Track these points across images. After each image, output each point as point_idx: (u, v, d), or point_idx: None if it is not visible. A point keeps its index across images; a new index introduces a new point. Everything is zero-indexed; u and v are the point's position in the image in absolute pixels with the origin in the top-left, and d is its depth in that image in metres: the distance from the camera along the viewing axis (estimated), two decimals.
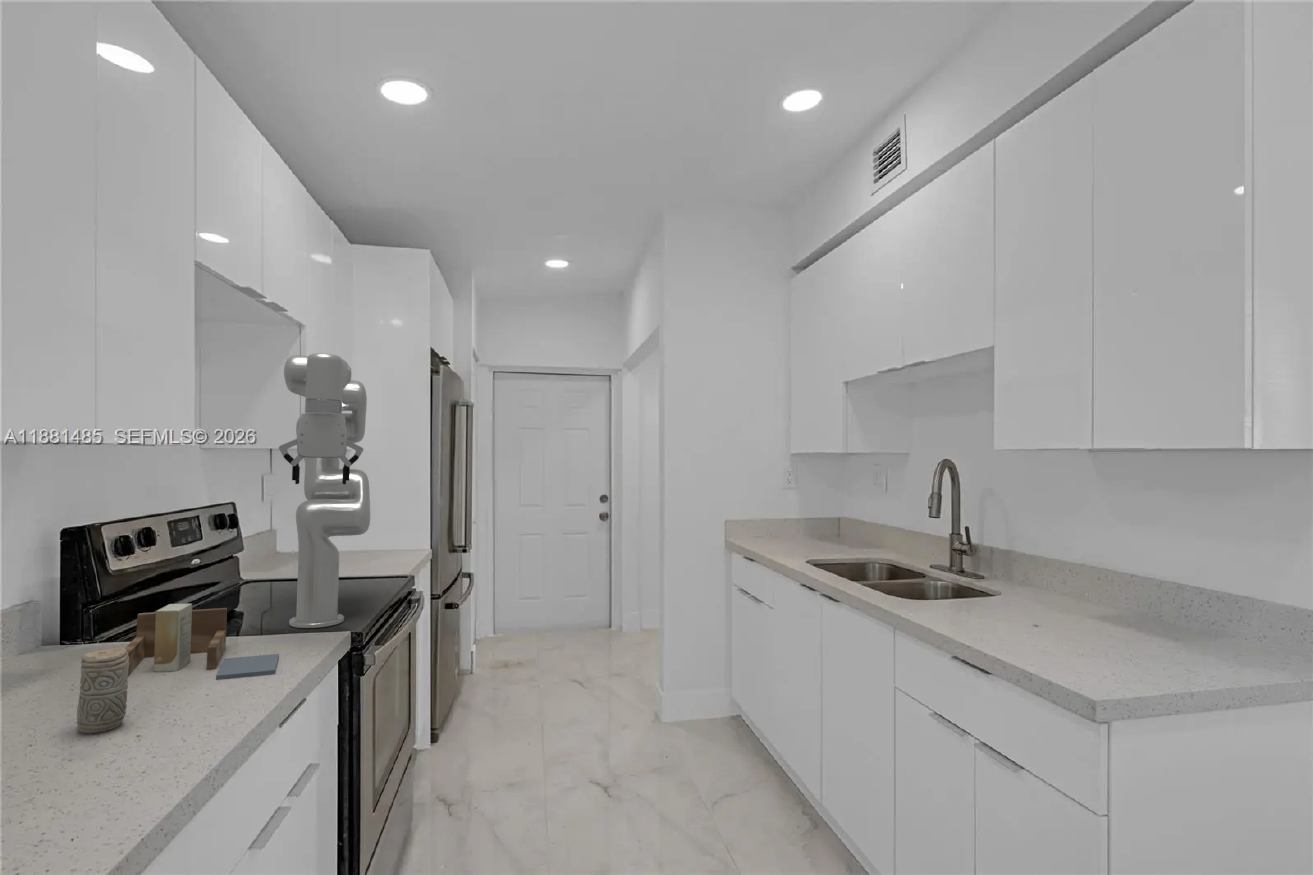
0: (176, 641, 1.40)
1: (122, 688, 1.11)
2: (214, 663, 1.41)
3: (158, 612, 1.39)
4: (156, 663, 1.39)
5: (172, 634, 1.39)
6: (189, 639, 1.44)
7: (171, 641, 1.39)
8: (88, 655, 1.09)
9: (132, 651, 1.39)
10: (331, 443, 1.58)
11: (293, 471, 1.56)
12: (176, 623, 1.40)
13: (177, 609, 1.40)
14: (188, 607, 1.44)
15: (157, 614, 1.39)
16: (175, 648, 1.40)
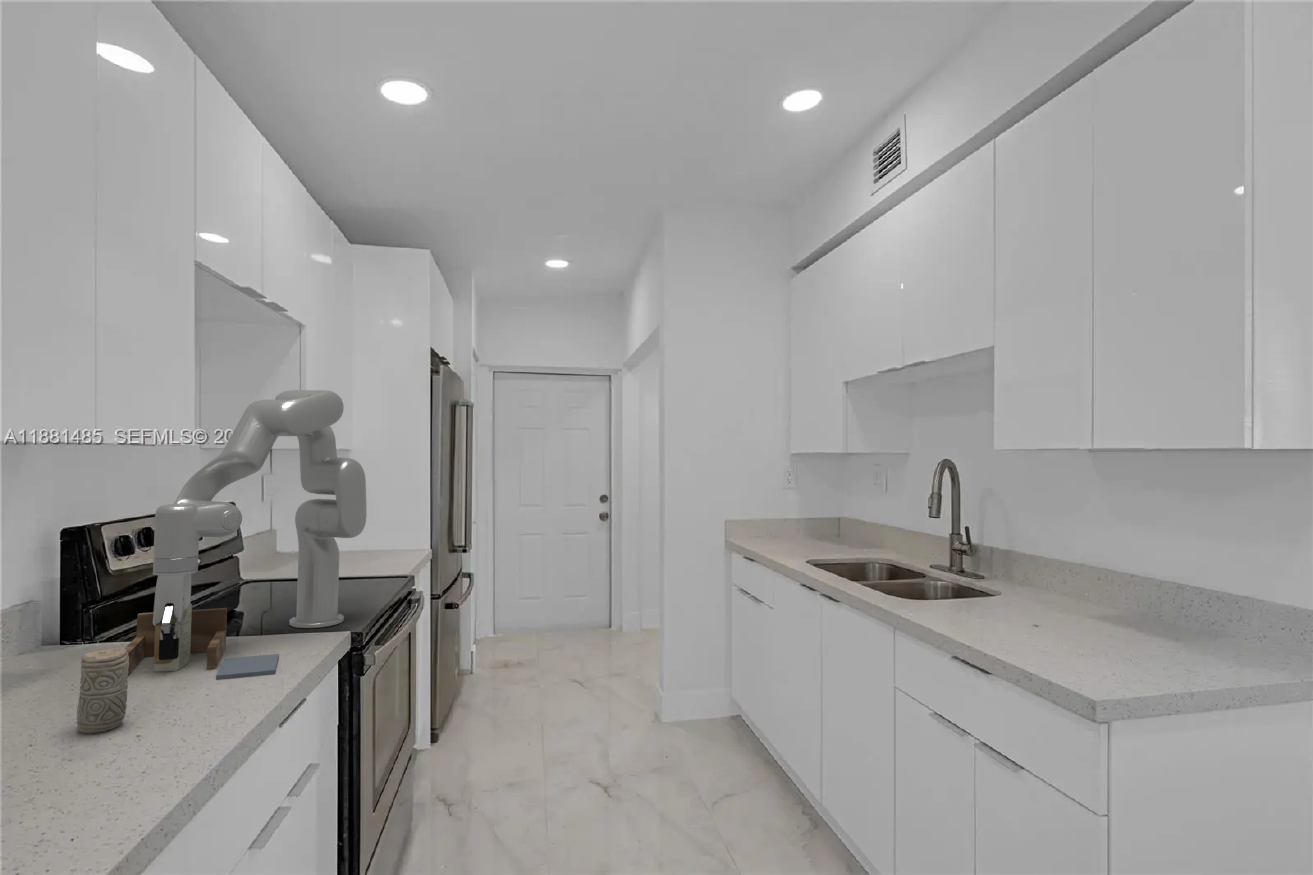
0: None
1: (122, 688, 1.11)
2: (214, 663, 1.41)
3: None
4: (156, 663, 1.39)
5: None
6: (188, 639, 1.44)
7: None
8: (88, 655, 1.09)
9: (132, 651, 1.39)
10: (189, 602, 1.45)
11: (173, 645, 1.38)
12: None
13: None
14: (188, 607, 1.44)
15: None
16: None
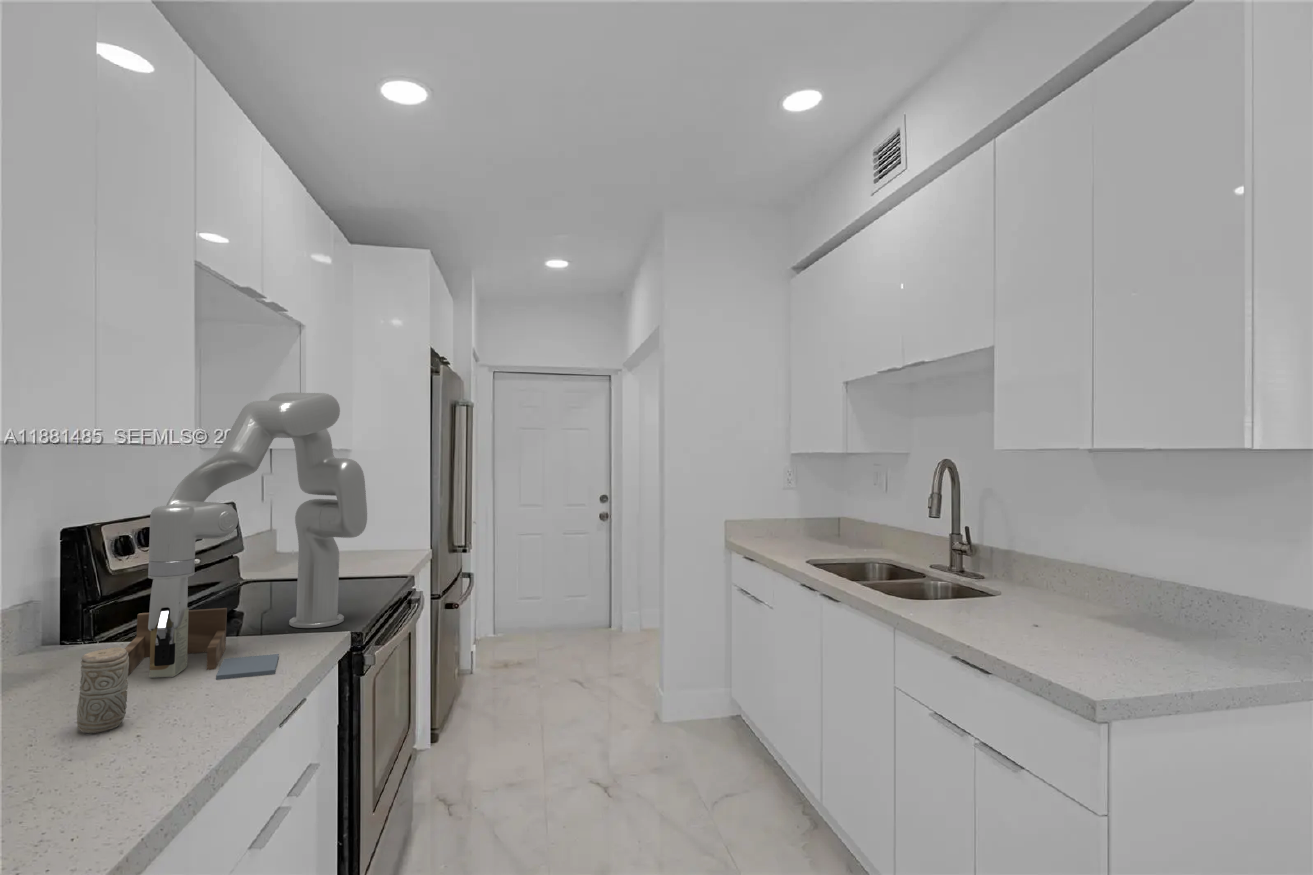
0: None
1: (122, 688, 1.11)
2: (214, 663, 1.41)
3: None
4: (152, 669, 1.35)
5: None
6: (185, 644, 1.41)
7: None
8: (88, 655, 1.09)
9: (132, 651, 1.39)
10: (186, 605, 1.41)
11: (169, 651, 1.34)
12: None
13: None
14: None
15: None
16: None
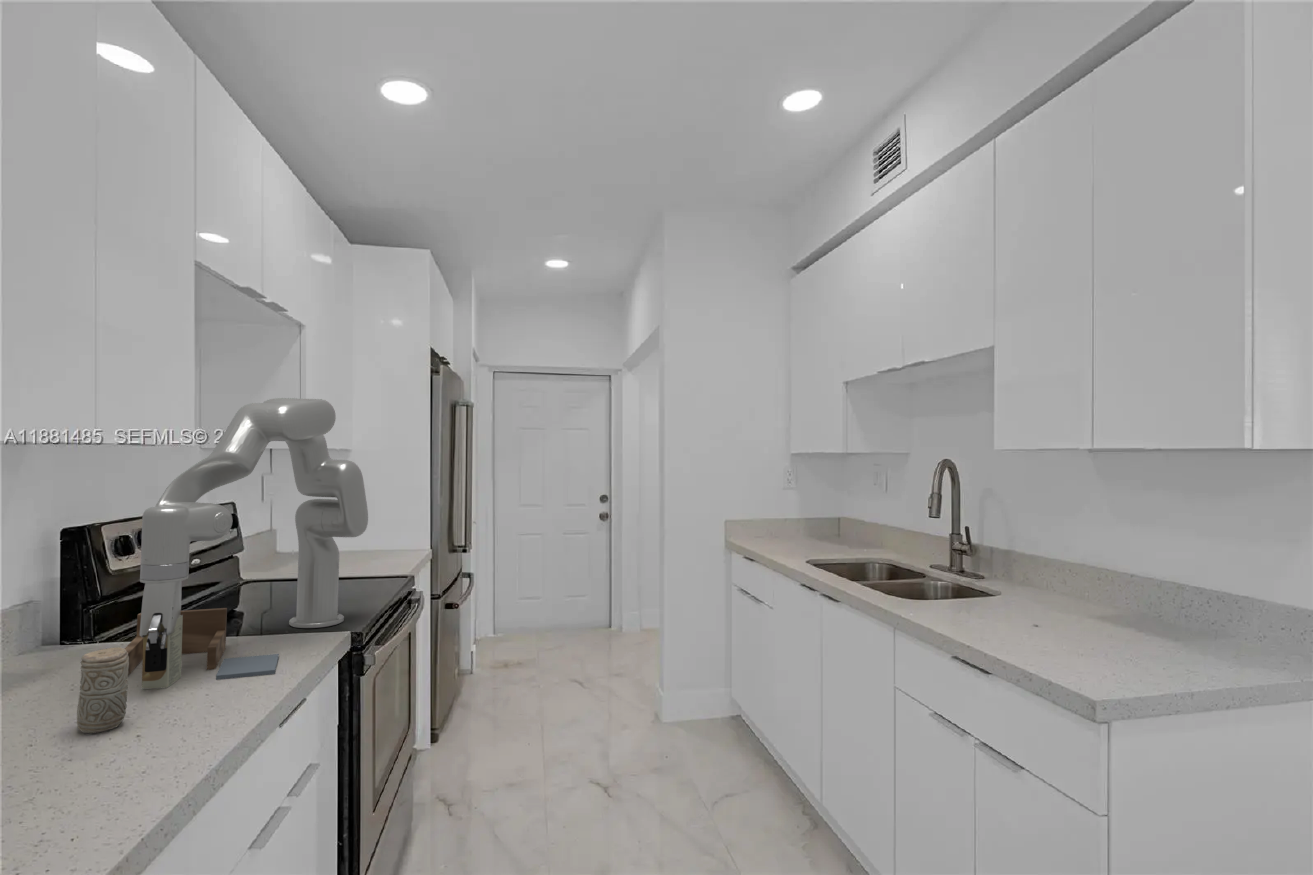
0: None
1: (122, 688, 1.11)
2: (214, 663, 1.41)
3: None
4: (144, 680, 1.29)
5: None
6: (179, 653, 1.35)
7: None
8: (88, 655, 1.09)
9: (132, 651, 1.39)
10: (180, 611, 1.35)
11: (160, 656, 1.28)
12: None
13: None
14: (179, 619, 1.34)
15: None
16: None
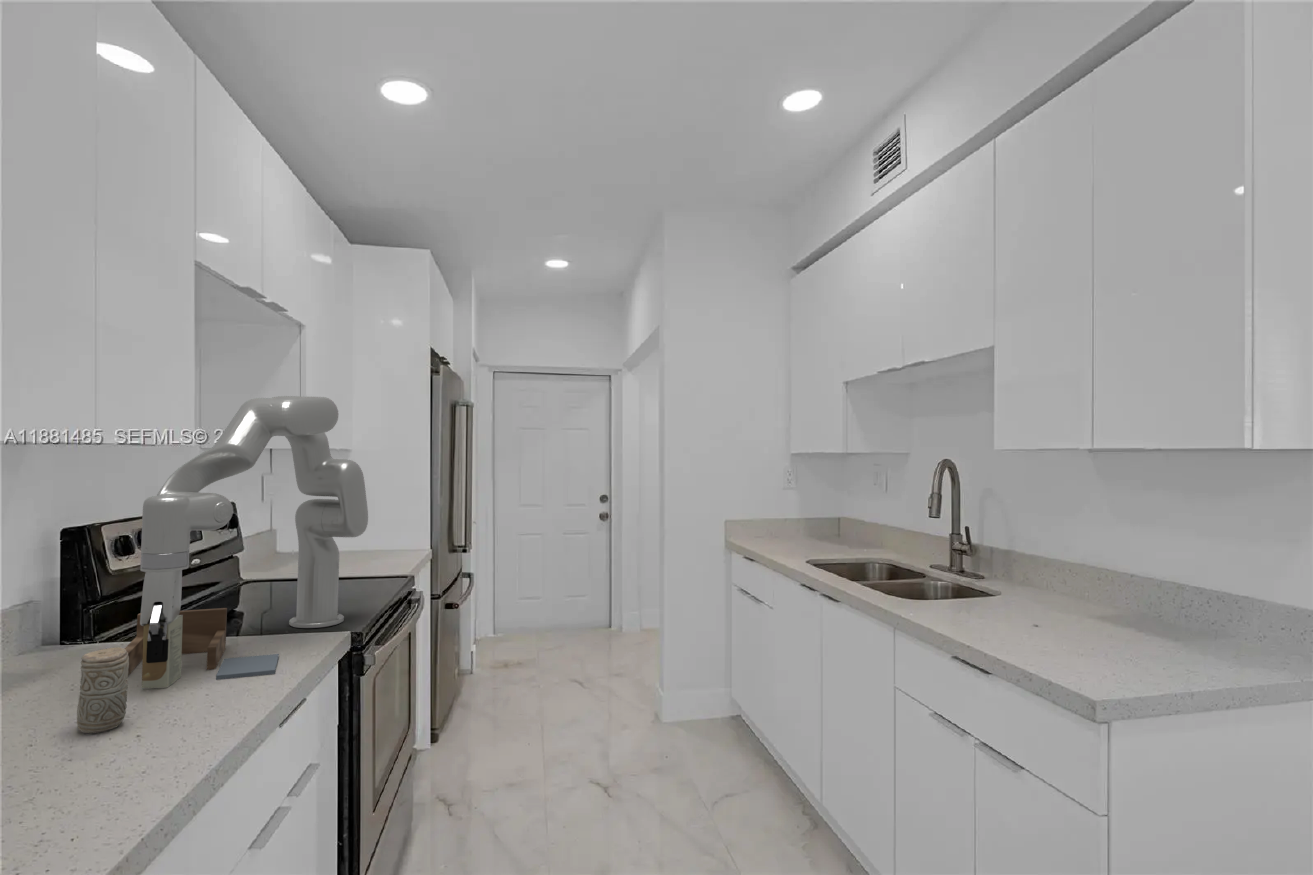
0: None
1: (122, 688, 1.11)
2: (214, 663, 1.41)
3: (146, 625, 1.29)
4: (144, 679, 1.29)
5: None
6: (179, 653, 1.35)
7: None
8: (88, 655, 1.09)
9: (132, 651, 1.39)
10: (180, 600, 1.35)
11: (162, 647, 1.28)
12: None
13: None
14: (178, 619, 1.34)
15: (145, 627, 1.29)
16: (165, 663, 1.30)
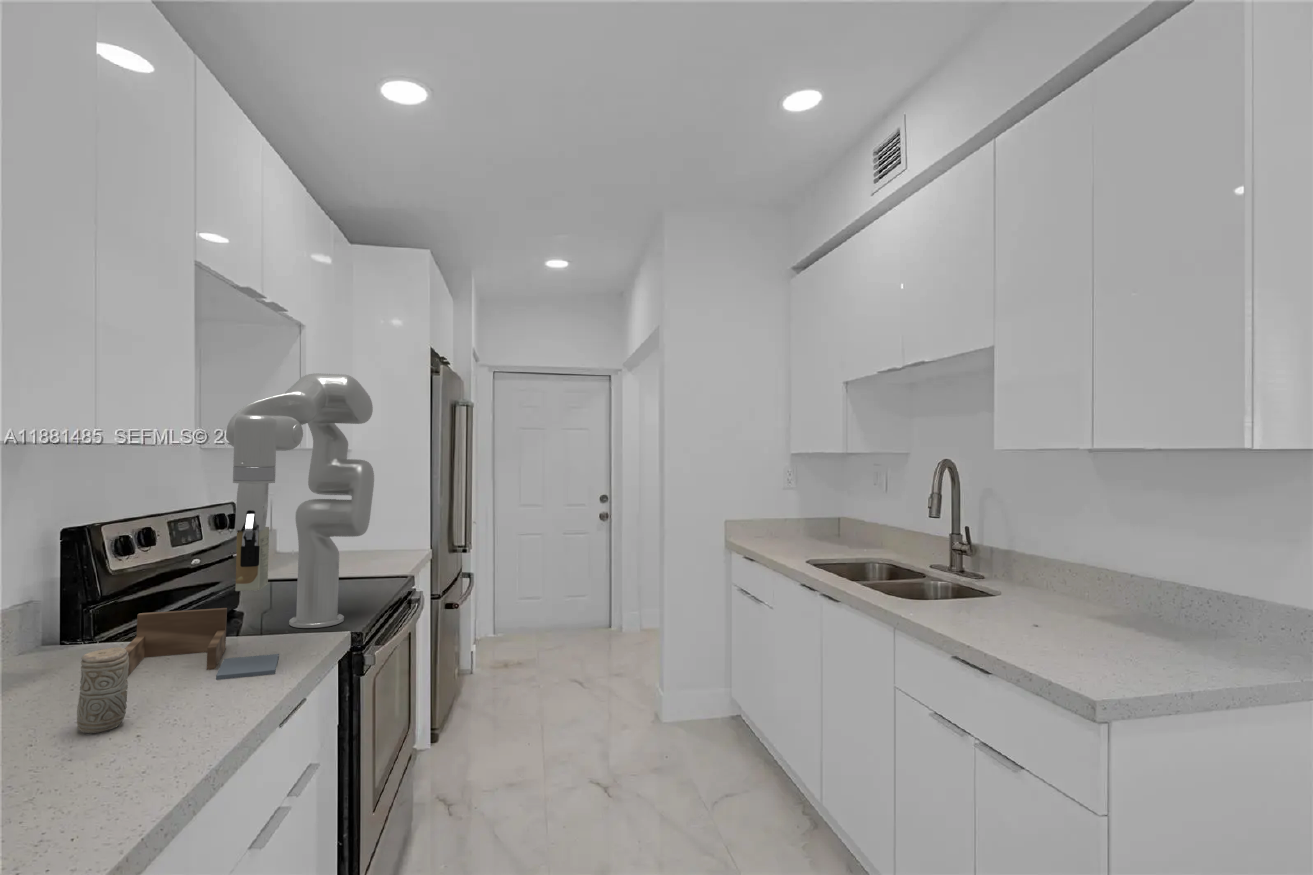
0: None
1: (122, 688, 1.11)
2: (214, 663, 1.41)
3: (239, 532, 1.40)
4: (237, 582, 1.40)
5: None
6: (266, 561, 1.46)
7: None
8: (88, 655, 1.09)
9: (132, 651, 1.39)
10: None
11: (254, 552, 1.39)
12: None
13: None
14: (266, 529, 1.45)
15: (238, 534, 1.40)
16: (256, 568, 1.41)
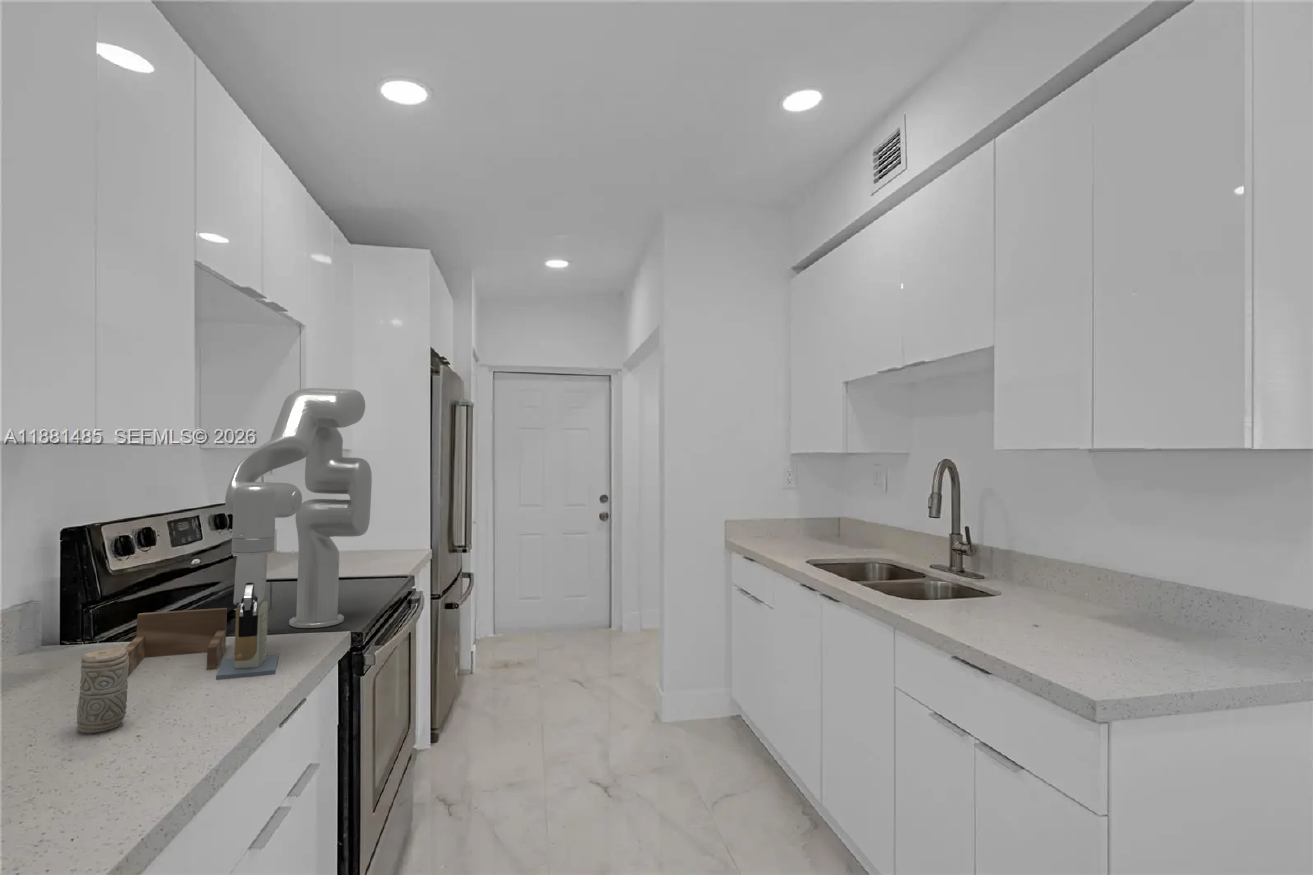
0: (256, 637, 1.40)
1: (122, 688, 1.11)
2: (214, 663, 1.41)
3: (238, 609, 1.40)
4: (236, 660, 1.39)
5: None
6: (265, 636, 1.45)
7: (252, 638, 1.40)
8: (88, 655, 1.09)
9: (132, 651, 1.39)
10: None
11: (252, 622, 1.38)
12: None
13: None
14: (265, 604, 1.44)
15: (237, 611, 1.39)
16: (256, 644, 1.40)
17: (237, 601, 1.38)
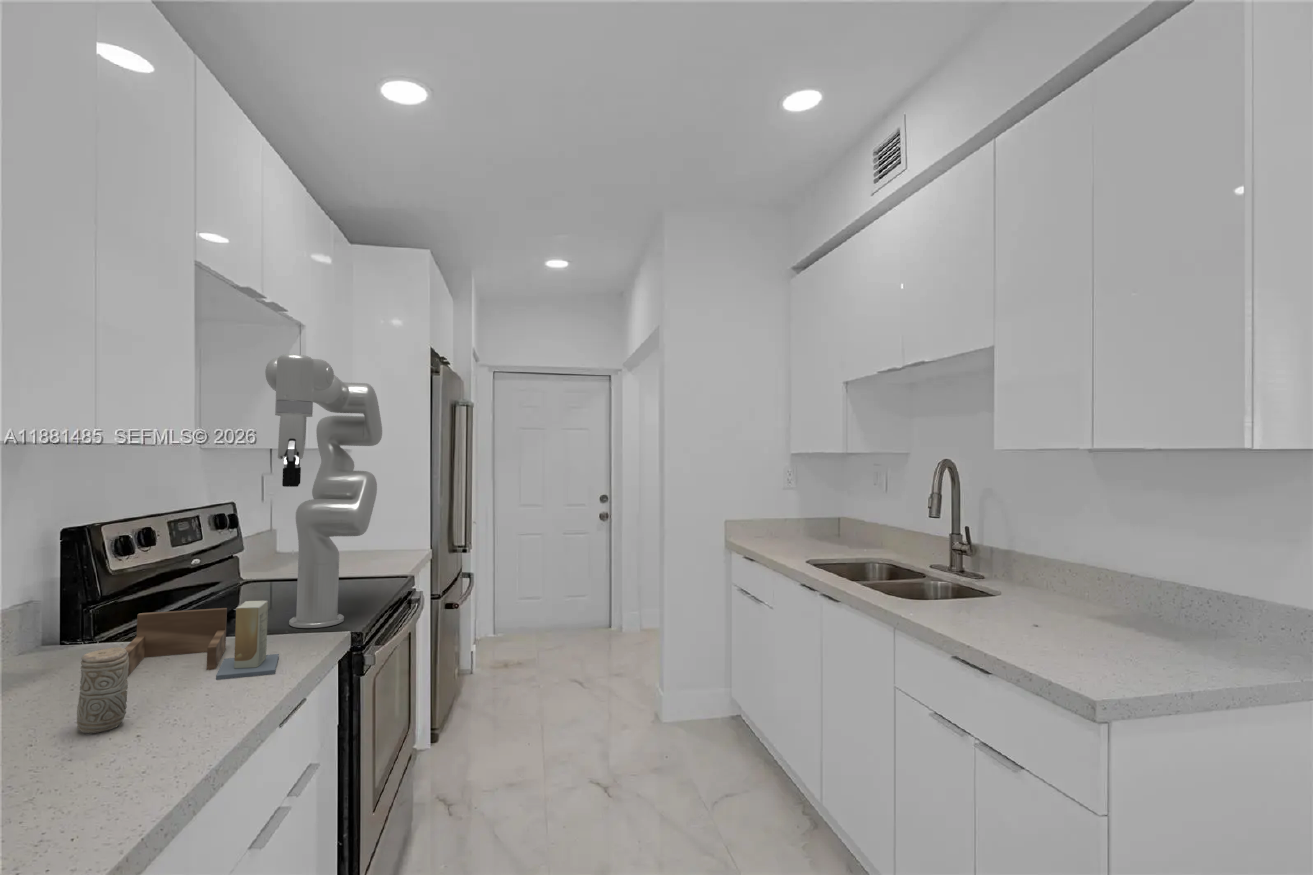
0: (256, 637, 1.40)
1: (122, 688, 1.11)
2: (214, 663, 1.41)
3: (238, 609, 1.40)
4: (236, 660, 1.39)
5: (252, 631, 1.40)
6: (265, 636, 1.45)
7: (252, 638, 1.40)
8: (88, 655, 1.09)
9: (132, 651, 1.39)
10: None
11: (294, 474, 1.54)
12: (256, 620, 1.40)
13: (256, 606, 1.41)
14: (265, 604, 1.44)
15: (237, 611, 1.39)
16: (256, 644, 1.40)
17: (281, 454, 1.53)
